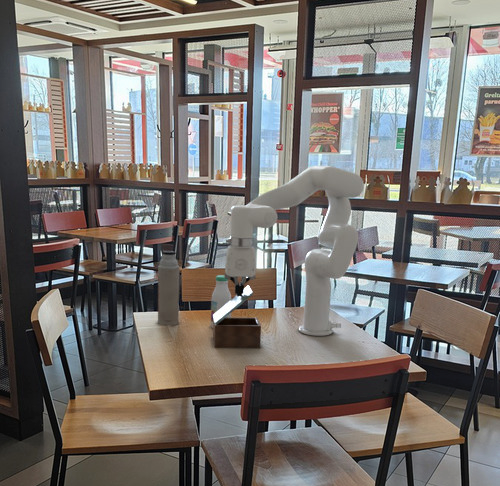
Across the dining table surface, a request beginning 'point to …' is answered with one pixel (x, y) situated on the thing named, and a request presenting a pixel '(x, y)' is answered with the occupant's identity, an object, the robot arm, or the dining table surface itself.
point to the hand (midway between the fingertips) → (239, 295)
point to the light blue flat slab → (232, 305)
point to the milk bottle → (220, 296)
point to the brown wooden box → (237, 333)
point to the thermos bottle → (168, 290)
